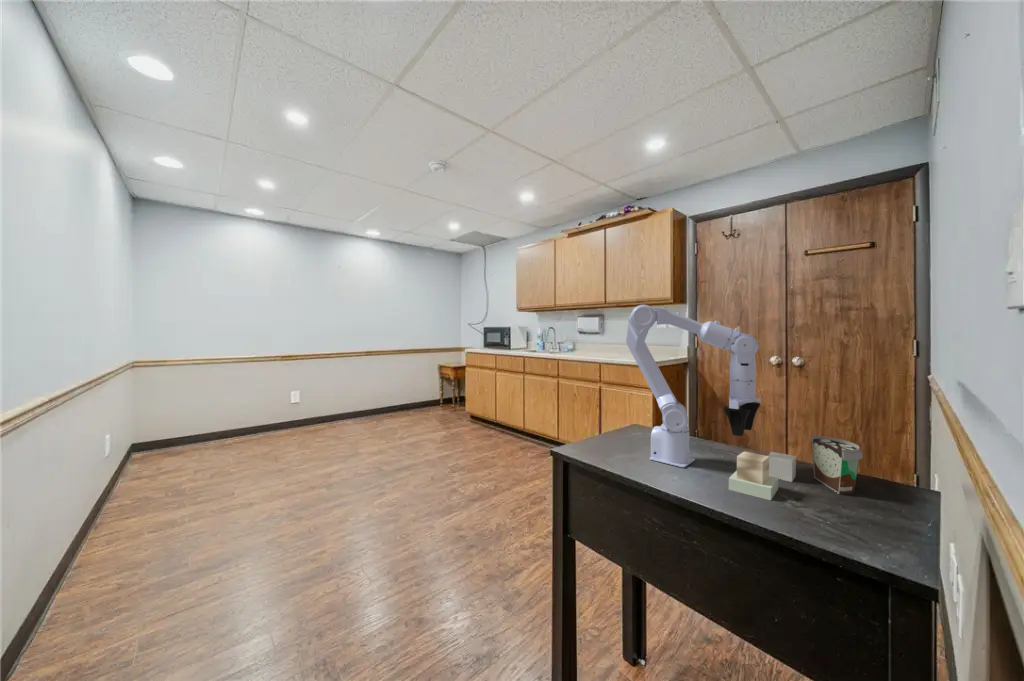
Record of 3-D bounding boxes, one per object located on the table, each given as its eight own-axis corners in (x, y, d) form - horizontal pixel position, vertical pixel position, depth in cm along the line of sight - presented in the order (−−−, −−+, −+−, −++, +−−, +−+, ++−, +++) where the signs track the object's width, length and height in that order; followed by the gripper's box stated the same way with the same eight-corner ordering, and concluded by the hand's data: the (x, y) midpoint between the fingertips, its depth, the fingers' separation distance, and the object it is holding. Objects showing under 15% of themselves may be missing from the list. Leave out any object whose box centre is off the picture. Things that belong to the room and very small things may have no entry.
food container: (877, 499, 80) (878, 452, 79) (843, 497, 81) (844, 451, 80) (839, 476, 92) (839, 436, 91) (810, 475, 93) (810, 434, 93)
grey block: (766, 476, 93) (766, 456, 92) (771, 471, 96) (771, 451, 96) (791, 482, 89) (792, 461, 89) (795, 476, 93) (795, 456, 92)
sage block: (728, 491, 86) (728, 478, 85) (738, 480, 91) (738, 468, 91) (770, 502, 80) (770, 488, 80) (778, 490, 86) (778, 477, 86)
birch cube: (736, 478, 85) (736, 456, 85) (744, 472, 89) (744, 451, 89) (762, 484, 82) (762, 462, 82) (769, 478, 85) (769, 456, 85)
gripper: (752, 384, 89) (752, 441, 90) (767, 378, 99) (767, 429, 100) (720, 382, 94) (719, 435, 95) (737, 376, 104) (737, 425, 105)
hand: (742, 432), depth 98 cm, fingers open, 7 cm apart
